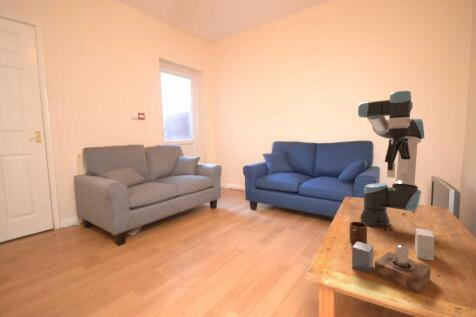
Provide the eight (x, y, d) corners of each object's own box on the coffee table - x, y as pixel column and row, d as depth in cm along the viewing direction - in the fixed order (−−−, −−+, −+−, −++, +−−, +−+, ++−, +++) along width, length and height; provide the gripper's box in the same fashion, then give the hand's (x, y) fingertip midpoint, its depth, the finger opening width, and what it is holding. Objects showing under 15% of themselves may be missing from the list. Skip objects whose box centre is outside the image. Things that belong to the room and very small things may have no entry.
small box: (433, 261, 95) (435, 237, 94) (416, 258, 98) (417, 234, 97) (430, 252, 102) (431, 230, 101) (414, 249, 105) (415, 227, 104)
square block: (352, 267, 93) (352, 246, 92) (356, 261, 98) (357, 241, 97) (368, 273, 89) (368, 251, 88) (372, 266, 93) (373, 246, 92)
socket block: (374, 274, 89) (374, 261, 88) (387, 262, 96) (388, 251, 95) (418, 293, 77) (418, 279, 77) (430, 279, 84) (430, 266, 84)
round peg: (393, 276, 87) (393, 246, 86) (397, 272, 89) (397, 242, 88) (405, 281, 84) (406, 250, 82) (409, 277, 86) (410, 246, 85)
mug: (362, 251, 105) (362, 232, 104) (344, 246, 110) (345, 228, 109) (368, 241, 114) (368, 223, 113) (352, 237, 119) (352, 220, 118)
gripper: (397, 127, 90) (395, 180, 93) (419, 126, 104) (417, 172, 107) (376, 128, 96) (375, 178, 99) (400, 127, 111) (399, 170, 113)
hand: (397, 175), depth 103 cm, fingers open, 13 cm apart
